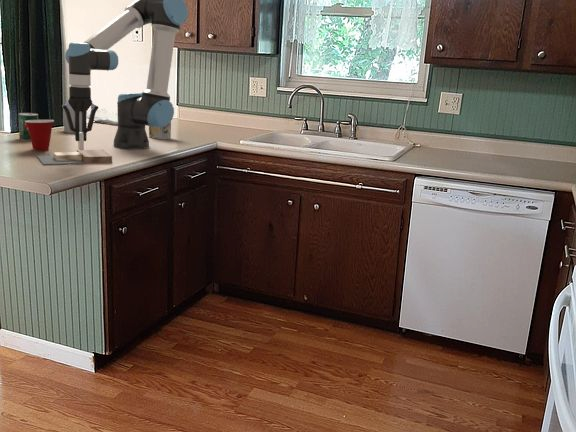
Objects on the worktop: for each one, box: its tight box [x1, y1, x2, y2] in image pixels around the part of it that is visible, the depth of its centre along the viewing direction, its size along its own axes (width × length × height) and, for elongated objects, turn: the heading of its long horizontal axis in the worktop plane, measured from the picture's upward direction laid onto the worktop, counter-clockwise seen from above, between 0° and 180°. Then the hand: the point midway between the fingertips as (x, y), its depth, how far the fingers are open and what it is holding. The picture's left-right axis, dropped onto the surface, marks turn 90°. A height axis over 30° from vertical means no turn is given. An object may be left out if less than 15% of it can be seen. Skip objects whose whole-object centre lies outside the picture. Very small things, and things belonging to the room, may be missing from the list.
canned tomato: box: [17, 112, 39, 142], centre depth 261 cm, size 8×8×11 cm
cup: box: [63, 106, 82, 134], centre depth 291 cm, size 9×9×12 cm
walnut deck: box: [76, 149, 113, 165], centre depth 231 cm, size 10×14×2 cm
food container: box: [86, 107, 118, 126], centre depth 328 cm, size 12×30×6 cm, turn 61°
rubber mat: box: [36, 154, 85, 166], centre depth 225 cm, size 14×16×1 cm
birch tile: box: [53, 151, 82, 161], centre depth 226 cm, size 9×6×2 cm, turn 120°
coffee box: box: [148, 121, 172, 140], centre depth 291 cm, size 9×6×16 cm
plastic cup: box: [25, 119, 55, 152], centre depth 241 cm, size 11×11×12 cm
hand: (81, 149), depth 228 cm, fingers closed
